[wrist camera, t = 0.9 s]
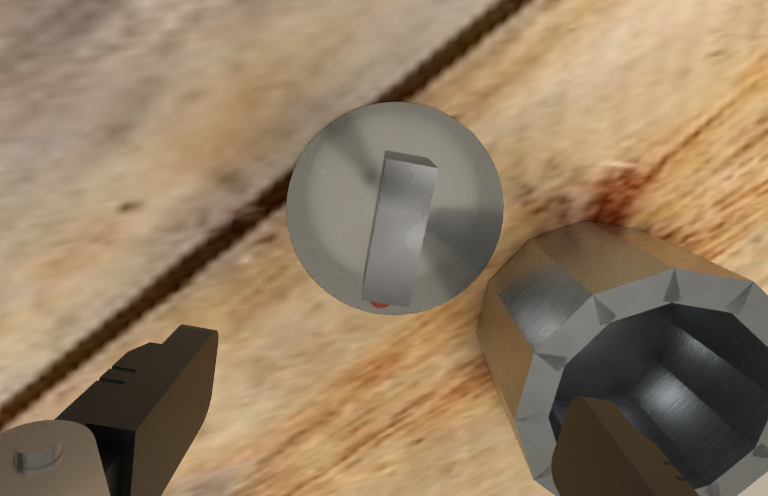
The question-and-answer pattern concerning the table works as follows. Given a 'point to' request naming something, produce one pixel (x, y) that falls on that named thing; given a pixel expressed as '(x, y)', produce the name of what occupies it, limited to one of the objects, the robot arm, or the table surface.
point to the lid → (394, 208)
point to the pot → (632, 349)
